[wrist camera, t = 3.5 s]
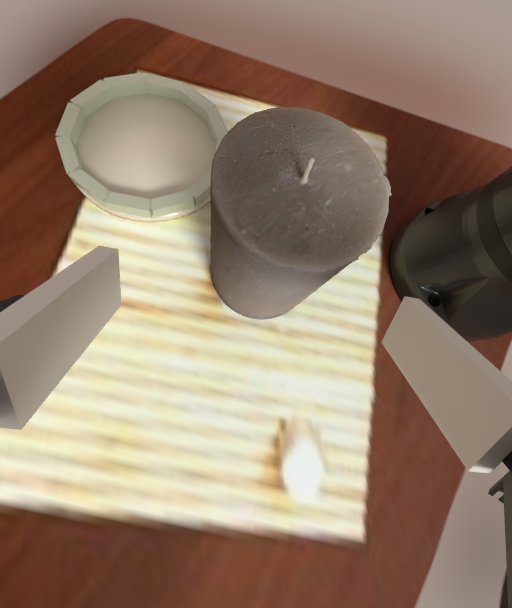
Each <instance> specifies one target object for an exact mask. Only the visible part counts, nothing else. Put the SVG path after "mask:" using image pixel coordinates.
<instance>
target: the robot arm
mask: <svg viewBox="0 0 512 608" xmlns="http://www.w3.org/2000/svg"><path fill="white" fill-rule="evenodd" d="M390 270H391V275H392V279H393V282H394V285H395V288H396V290H397V292H398V294H399V296H400V298H401V300H402V303H401V305H400V307H399V308H398V310H397V312H396V314H395V316H394V318H393V320H392V322H391V324H390V326H389V328H388V330H387V332H386V334H385V336H384V338H383V340H382V344H383V345H384V347H385V348H386V350H387V351H388V353H389V354H390V356H391V357H392V359H393V360H394V362H395V363H396V365H397V366H398V368H399V369H400V371H401V372H402V374H403V375H404V377H405V378H406V380H407V381H408V383H409V384H410V385H411V387H412V388H413V390H414V391H415V393H416V394H417V396H418V397H419V399H420V400H421V402H422V403H423V405H424V406H425V408H426V409H427V411H428V412H429V414H430V415H431V417H432V418H433V420H434V421H435V423H436V424H437V426H438V427H439V428H440V430H441V431H442V433H443V434H444V436H445V437H446V439H447V440H448V442H449V443H450V445H451V446H452V448H453V449H454V451H455V452H456V454H457V455H458V457H459V458H460V460H461V461H462V463H463V464H464V466H465V467H466V469H467V470H468V471H473V472H483V473H490V472H492V471H493V470H494V469H495V468H496V467H497V466H498V465H499V464H500V463H501V462H502V461H503V463H504V464H505V465H506V466H507V468H508V469H509V470H510V471H509V472H508V473H507V474H506V475H505V476H504V477H503V478H501V479H500V480H499V481H498V482H497V483H496V484H495V485H494V486H493V487H492V488H491V489H490V490H489V493H488V494H490V495H492V496H493V495H494V494H495V493H496V492H498V491H501V492H503V493H504V495H503V496H502V497H501V498H499V501H501V502H502V503H504V514H505V537H506V560H507V583H508V605H509V608H512V381H510V380H509V379H508V378H507V377H506V376H505V375H504V374H503V373H501V372H500V371H499V370H498V369H497V368H496V367H495V366H494V365H493V364H491V363H490V362H489V361H488V360H487V359H486V358H485V357H484V356H483V355H481V354H480V353H479V352H478V351H477V350H476V349H475V348H474V347H473V346H471V345H470V344H469V343H468V342H467V341H477V340H484V339H492V338H497V337H501V336H504V335H507V334H509V333H511V332H512V167H510V168H509V169H508V170H506V171H505V172H503V173H502V174H501V175H499V176H498V177H496V178H495V179H493V180H492V181H490V182H489V183H487V184H486V185H483V186H480V187H478V188H475V189H472V190H469V191H466V192H463V193H461V194H458V195H455V196H452V197H449V198H447V199H444V200H442V201H438V202H435V203H433V204H430V205H428V206H427V207H425V208H423V209H421V210H420V211H419V212H417V213H416V214H415V215H414V216H412V217H411V218H410V219H409V220H407V221H406V222H405V223H404V224H403V225H402V226H401V227H400V229H399V230H398V232H397V233H396V235H395V237H394V240H393V242H392V246H391V251H390ZM120 306H121V290H120V273H119V255H118V249H115V248H109V247H103V246H98V247H97V248H95V249H94V250H92V251H91V252H89V253H88V254H86V255H85V256H83V257H82V258H80V259H79V260H77V261H76V262H74V263H73V264H72V265H70V266H69V267H67V268H66V269H64V270H63V271H61V272H60V273H58V274H57V275H55V276H54V277H52V278H51V279H49V280H48V281H46V282H45V283H43V284H42V285H40V286H39V287H37V288H36V289H34V290H33V291H31V292H30V293H28V294H27V295H17V296H14V297H11V298H8V299H5V300H3V301H0V428H9V429H19V430H21V429H22V428H23V427H24V426H25V424H26V423H27V422H28V421H29V419H30V418H31V417H32V416H33V414H34V413H35V412H36V411H37V409H38V408H39V407H40V406H41V404H42V403H43V402H44V401H45V399H46V398H47V397H48V396H49V394H50V393H51V392H52V391H53V389H54V388H55V387H56V386H57V384H58V383H59V382H60V381H61V379H62V378H63V377H64V376H65V374H66V373H67V372H68V371H69V369H70V368H71V367H72V366H73V364H74V363H75V362H76V361H77V359H78V358H79V357H80V356H81V354H82V353H83V352H84V351H85V349H86V348H87V347H88V346H89V344H90V343H91V342H92V341H93V339H94V338H95V337H96V336H97V334H98V333H99V332H100V331H101V329H102V328H103V327H104V326H105V324H106V323H107V322H108V321H109V319H110V318H111V317H112V316H113V314H114V313H115V312H116V311H117V309H118V308H119V307H120Z"/></svg>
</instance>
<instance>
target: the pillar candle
mask: <svg viewBox="0 0 512 608" xmlns="http://www.w3.org/2000/svg"><path fill="white" fill-rule="evenodd" d="M390 195H391V186H390V183H389V181H388V179H387V177H385V176H384V174H383V171H382V168H381V166H380V164H379V161H378V159H377V158H376V157H375V155H374V153H373V152H372V150H371V149H370V148H369V147H368V145H367V144H366V143H365V142H364V140H363V139H362V138H361V137H360V136H359V135H358V134H356V133H355V132H354V131H353V130H352V129H350V128H349V127H348V126H347V125H346V124H344V123H343V122H341V121H340V120H338V119H335V118H333V117H330V116H328V115H326V114H324V113H321V112H317V111H313V110H309V109H304V108H296V107H277V108H271V109H267V110H263V111H260V112H256V113H254V114H251V115H249V116H248V117H246V118H245V119H243V120H241V121H240V122H238V123H237V124H236V125H235V126H234V127H233V128H232V129H231V130H230V131H229V132H228V133H227V134H226V135H225V136H224V137H223V139H222V140H221V143H220V145H219V147H218V149H217V151H216V153H215V155H214V158H213V161H212V168H211V277H212V281H213V284H214V287H215V290H216V291H217V293H218V295H219V297H220V298H221V300H222V301H223V302H224V303H225V304H226V305H227V306H228V307H230V308H231V309H232V310H233V311H235V312H237V313H239V314H241V315H243V316H246V317H249V318H253V319H270V318H275V317H278V316H280V315H283V314H285V313H287V312H288V311H290V310H291V309H293V308H294V307H295V306H296V305H298V304H299V303H300V302H301V301H303V300H304V299H306V298H307V297H308V296H309V295H311V294H312V293H313V292H315V291H316V290H317V289H318V288H319V287H321V286H322V285H323V284H325V283H326V282H327V281H328V280H330V279H331V278H332V277H333V276H335V275H336V274H337V273H339V272H340V271H341V270H342V269H344V268H345V267H346V266H347V265H349V264H350V263H352V262H353V261H355V260H358V257H359V256H360V255H362V254H363V253H366V252H367V251H368V250H370V249H371V247H372V245H373V243H374V242H375V241H376V239H377V238H378V236H379V235H380V234H381V233H382V231H383V227H384V224H385V220H386V217H387V215H388V205H389V196H390Z"/></svg>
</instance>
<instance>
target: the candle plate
mask: <svg viewBox="0 0 512 608" xmlns="http://www.w3.org/2000/svg"><path fill="white" fill-rule="evenodd" d="M103 79H104V81H102V80H101V79H100V80H99V81H97V82H96V83H94V84H93V85H92V86H90V87H89V88H87V89H86V90H84V91H83V92H81V93H80V94H78V95H77V96H75V97H74V98H72V99H71V100H70V102H71V103H69V102H68V104H67V107H66V109H65V112H64V114H63V117H62V119H61V121H60V124H59V126H58V129H57V131H56V134H55V135H56V137H55V138H56V142H57V145H58V148H59V151H60V154H61V158H62V161H63V164H64V167H65V170H66V173H67V174H68V176H69V177H70V178H71V180H72V181H73V182H74V184H75V185H76V186H77V187H78V189H79V190H80V191H81V192H82V193H83V195H84V196H85V197H86V198H88V199H89V200H90V201H91V202H92V203H93V204H95V205H96V206H98V207H99V208H101V209H102V210H104V211H106V212H108V213H110V214H112V215H115V216H118V217H120V218H124V219H128V220H132V221H139V222H164V221H170V220H175V219H178V218H181V217H184V216H187V215H189V214H191V213H193V212H195V211H197V210H199V209H200V208H202V207H203V206H205V205H206V204H207V203H208V202H209V201H211V168H212V161H213V158H214V155H215V153H216V151H217V149H218V147H219V145H220V143H221V140H222V139H223V137H224V136H225V135H226V134H227V133H228V132H227V130H226V127H225V125H224V123H223V121H222V118H221V116H220V114H219V112H218V110H217V107H215V105H214V104H213V103H211V102H210V101H209V100H207V99H206V98H205V97H204V96H202V95H201V94H200V93H198V92H197V91H196V90H194V89H193V88H192V87H190V86H189V85H188V84H186V83H185V84H184V83H183V82H182V81H178V80H174V79H170V78H166V77H161V76H157V75H153V74H149V73H145V75H143V72H142V73H135V74H128V75H122V76H115V77H108V78H103Z"/></svg>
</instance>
